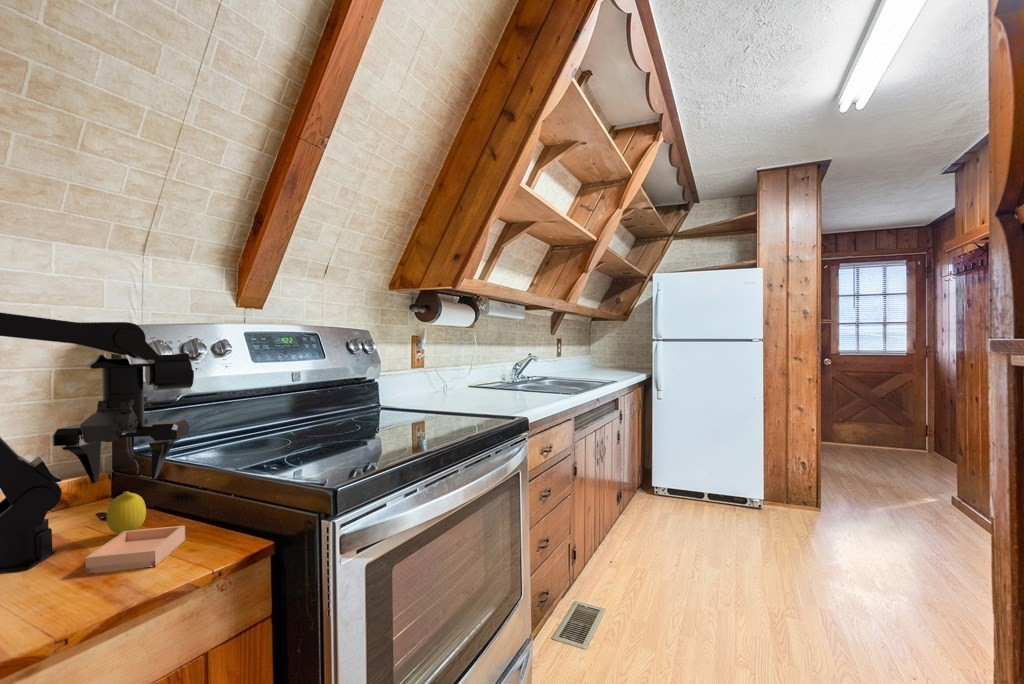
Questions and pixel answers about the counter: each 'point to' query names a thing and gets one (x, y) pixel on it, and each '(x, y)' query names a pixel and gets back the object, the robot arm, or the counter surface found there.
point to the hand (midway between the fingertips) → (125, 480)
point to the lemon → (126, 513)
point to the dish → (135, 549)
